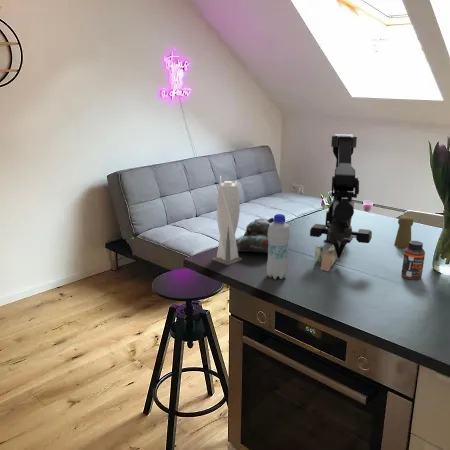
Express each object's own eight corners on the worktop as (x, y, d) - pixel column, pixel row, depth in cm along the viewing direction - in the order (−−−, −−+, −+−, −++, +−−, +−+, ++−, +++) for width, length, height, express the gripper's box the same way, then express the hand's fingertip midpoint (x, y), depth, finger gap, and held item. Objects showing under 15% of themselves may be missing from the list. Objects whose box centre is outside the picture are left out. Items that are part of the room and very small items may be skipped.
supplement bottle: (411, 282, 153) (416, 247, 150) (397, 275, 158) (401, 241, 155) (425, 278, 156) (430, 244, 153) (410, 271, 161) (415, 238, 158)
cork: (412, 249, 181) (416, 219, 178) (395, 247, 182) (398, 218, 179) (410, 243, 187) (413, 215, 183) (393, 242, 188) (396, 214, 185)
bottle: (289, 273, 158) (292, 212, 152) (285, 282, 152) (288, 218, 146) (268, 271, 160) (271, 210, 154) (263, 279, 154) (265, 216, 148)
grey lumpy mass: (227, 250, 178) (234, 212, 180) (254, 258, 184) (260, 221, 186) (253, 250, 165) (261, 209, 168) (281, 258, 172) (287, 219, 174)
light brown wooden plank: (335, 253, 175) (336, 239, 174) (342, 254, 174) (343, 240, 173) (321, 269, 161) (322, 254, 159) (328, 271, 160) (329, 256, 158)
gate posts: (313, 264, 166) (314, 244, 164) (338, 251, 178) (340, 232, 176) (319, 266, 165) (321, 245, 163) (344, 253, 177) (346, 234, 174)
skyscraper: (209, 258, 170) (209, 177, 162) (226, 252, 176) (226, 173, 167) (228, 265, 165) (229, 181, 156) (244, 258, 170) (246, 177, 162)
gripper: (306, 215, 157) (304, 262, 161) (368, 221, 149) (364, 271, 154) (315, 206, 166) (313, 251, 171) (373, 212, 159) (370, 259, 163)
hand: (339, 258), depth 164 cm, fingers closed
